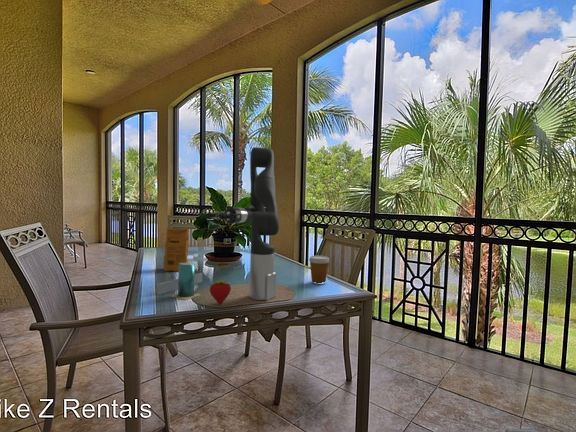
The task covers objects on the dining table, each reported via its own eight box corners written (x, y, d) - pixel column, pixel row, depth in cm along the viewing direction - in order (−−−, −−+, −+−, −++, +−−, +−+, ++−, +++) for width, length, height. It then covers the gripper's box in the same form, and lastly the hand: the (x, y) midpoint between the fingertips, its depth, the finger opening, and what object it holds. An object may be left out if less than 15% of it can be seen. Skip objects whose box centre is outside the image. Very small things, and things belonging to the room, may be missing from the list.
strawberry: (208, 302, 119) (208, 275, 118) (228, 300, 122) (228, 273, 121) (211, 307, 114) (211, 278, 113) (232, 304, 117) (232, 277, 116)
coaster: (200, 295, 127) (201, 294, 127) (185, 300, 120) (185, 299, 120) (186, 291, 131) (186, 291, 131) (170, 296, 124) (170, 295, 124)
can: (197, 294, 127) (198, 263, 127) (185, 298, 122) (186, 265, 121) (186, 291, 130) (187, 261, 130) (174, 295, 125) (175, 263, 124)
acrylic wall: (202, 282, 147) (202, 273, 147) (158, 294, 126) (158, 284, 126) (200, 281, 148) (200, 272, 147) (156, 294, 126) (156, 284, 126)
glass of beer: (318, 286, 145) (319, 259, 144) (304, 282, 152) (304, 256, 151) (333, 283, 151) (334, 257, 150) (318, 279, 158) (319, 254, 157)
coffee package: (166, 267, 175) (166, 226, 174) (190, 267, 176) (190, 227, 175) (161, 271, 165) (161, 228, 164) (186, 272, 166) (186, 229, 165)
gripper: (224, 206, 159) (200, 207, 145) (248, 208, 152) (225, 208, 138) (224, 222, 159) (200, 224, 145) (248, 224, 153) (225, 226, 138)
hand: (212, 216), depth 142 cm, fingers open, 8 cm apart
